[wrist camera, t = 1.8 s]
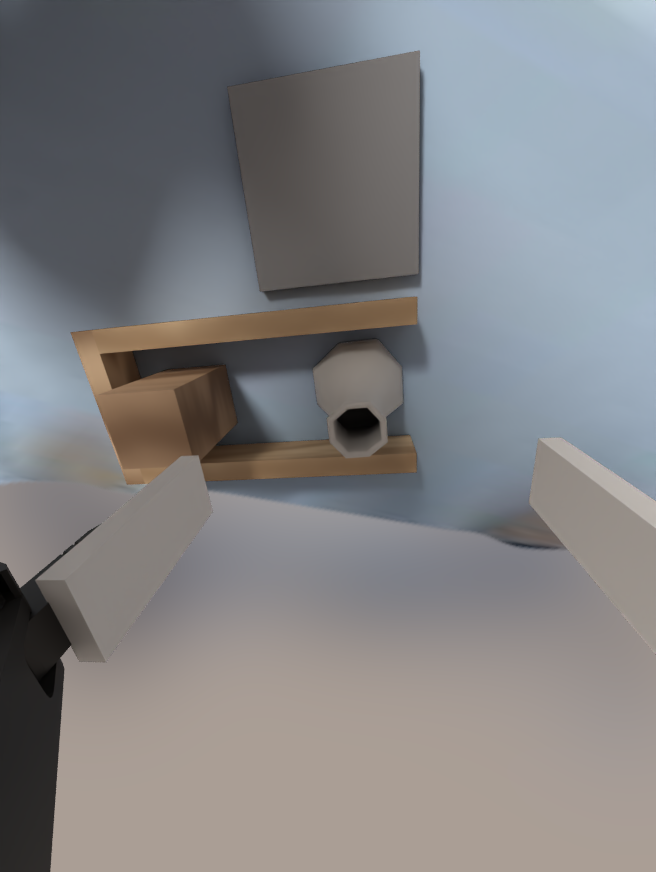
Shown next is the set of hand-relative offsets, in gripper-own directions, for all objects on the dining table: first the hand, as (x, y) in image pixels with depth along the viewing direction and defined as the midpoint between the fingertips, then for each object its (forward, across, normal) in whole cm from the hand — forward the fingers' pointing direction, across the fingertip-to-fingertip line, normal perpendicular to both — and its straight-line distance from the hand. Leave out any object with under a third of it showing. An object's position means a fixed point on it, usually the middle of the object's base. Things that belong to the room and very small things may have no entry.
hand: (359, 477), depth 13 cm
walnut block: (+14, -13, 0) cm, 19 cm away
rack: (+14, -7, 0) cm, 16 cm away
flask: (+15, 0, 0) cm, 15 cm away
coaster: (+14, -1, +13) cm, 20 cm away
